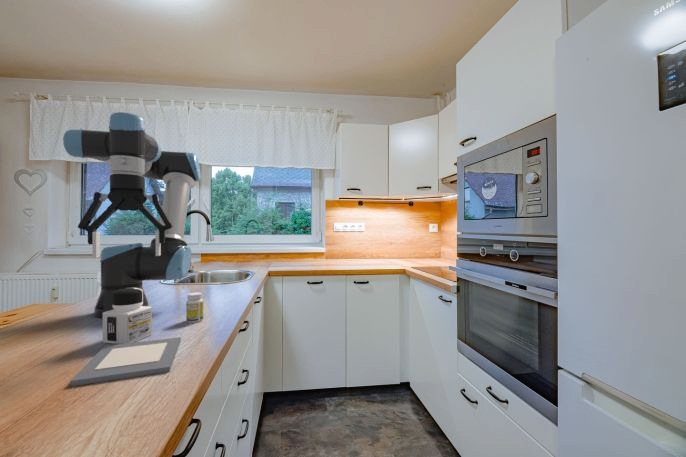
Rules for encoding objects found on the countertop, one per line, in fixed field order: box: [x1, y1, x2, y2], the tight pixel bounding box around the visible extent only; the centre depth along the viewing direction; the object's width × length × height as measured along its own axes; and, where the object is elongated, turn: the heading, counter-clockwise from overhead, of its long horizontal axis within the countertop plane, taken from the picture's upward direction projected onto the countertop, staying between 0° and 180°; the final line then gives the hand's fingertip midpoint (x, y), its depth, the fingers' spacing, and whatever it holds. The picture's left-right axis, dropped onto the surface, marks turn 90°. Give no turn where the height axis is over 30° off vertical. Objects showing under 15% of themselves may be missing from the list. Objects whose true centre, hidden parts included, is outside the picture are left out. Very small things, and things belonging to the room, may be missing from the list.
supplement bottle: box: [185, 291, 204, 324], centre depth 97 cm, size 5×5×8 cm
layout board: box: [70, 336, 181, 387], centre depth 68 cm, size 18×16×1 cm
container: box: [102, 288, 153, 345], centre depth 81 cm, size 8×8×13 cm
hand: (128, 256), depth 81 cm, fingers open, 13 cm apart
